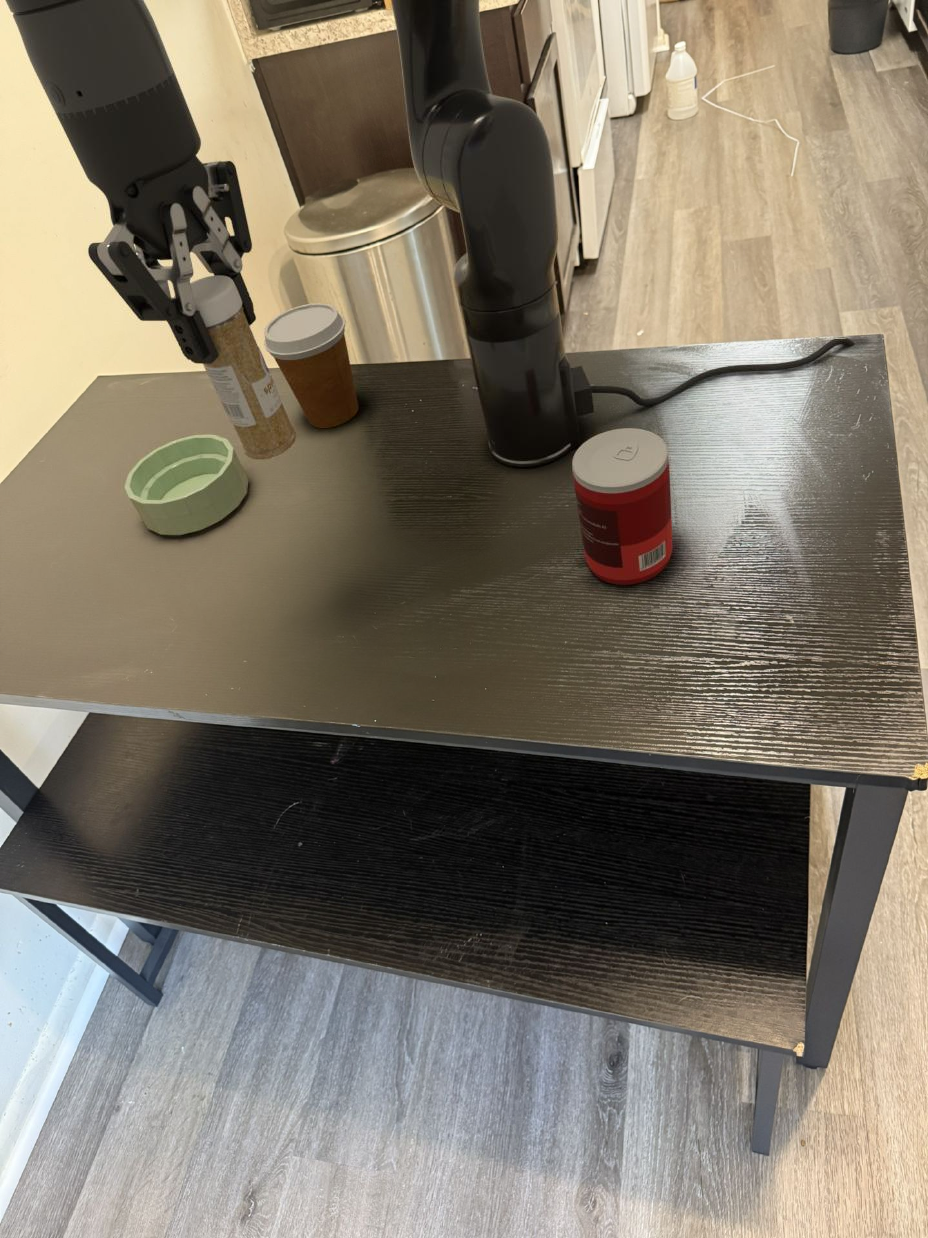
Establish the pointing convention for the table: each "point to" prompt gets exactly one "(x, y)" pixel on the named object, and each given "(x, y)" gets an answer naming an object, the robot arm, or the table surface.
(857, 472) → the table surface
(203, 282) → the sprinkles bottle
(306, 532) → the table surface
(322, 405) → the disposable coffee cup
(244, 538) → the table surface
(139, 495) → the bowl
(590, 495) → the canned food
